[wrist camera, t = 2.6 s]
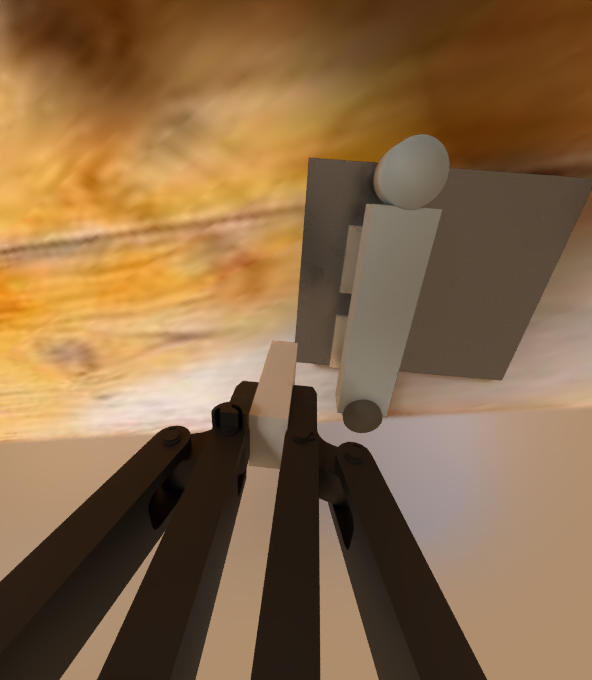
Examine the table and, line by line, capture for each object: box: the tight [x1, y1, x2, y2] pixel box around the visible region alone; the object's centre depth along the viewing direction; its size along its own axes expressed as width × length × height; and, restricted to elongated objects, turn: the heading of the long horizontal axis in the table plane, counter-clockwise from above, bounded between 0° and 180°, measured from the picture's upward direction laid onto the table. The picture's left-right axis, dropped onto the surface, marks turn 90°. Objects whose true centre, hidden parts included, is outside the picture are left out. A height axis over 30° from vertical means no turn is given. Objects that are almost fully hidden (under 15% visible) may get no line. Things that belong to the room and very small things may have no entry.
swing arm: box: [336, 134, 450, 433], centre depth 19 cm, size 18×4×3 cm, turn 176°
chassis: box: [295, 158, 592, 380], centre depth 23 cm, size 16×19×7 cm
